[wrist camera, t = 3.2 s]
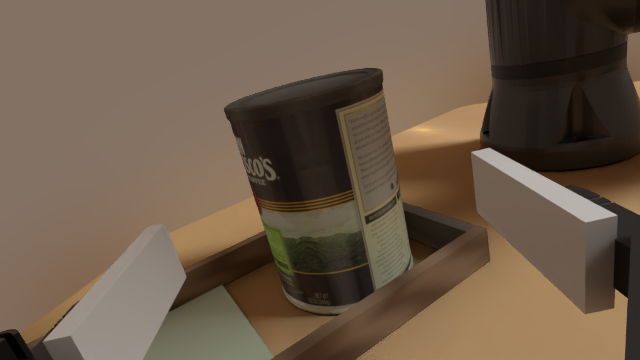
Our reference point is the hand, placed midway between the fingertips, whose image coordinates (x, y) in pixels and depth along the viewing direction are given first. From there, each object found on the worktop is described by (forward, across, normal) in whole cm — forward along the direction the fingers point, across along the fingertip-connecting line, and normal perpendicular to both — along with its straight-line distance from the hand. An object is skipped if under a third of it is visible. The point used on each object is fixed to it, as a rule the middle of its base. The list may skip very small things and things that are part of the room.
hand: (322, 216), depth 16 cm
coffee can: (+10, 0, -10) cm, 14 cm away
